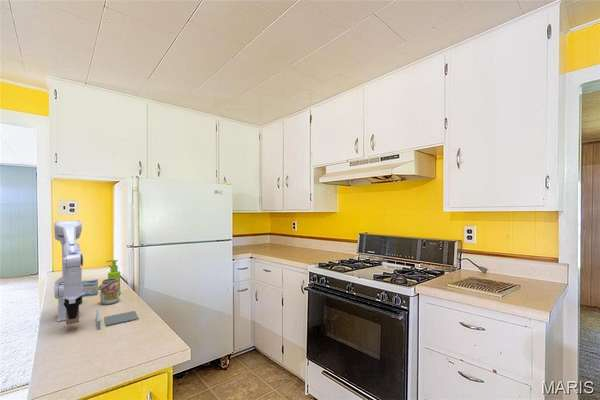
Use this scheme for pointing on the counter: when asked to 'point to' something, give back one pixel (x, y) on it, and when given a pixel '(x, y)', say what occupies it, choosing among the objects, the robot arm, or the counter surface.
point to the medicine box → (90, 287)
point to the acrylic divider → (98, 320)
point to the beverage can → (109, 291)
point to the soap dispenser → (114, 272)
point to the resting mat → (120, 318)
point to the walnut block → (72, 319)
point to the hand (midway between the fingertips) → (72, 317)
